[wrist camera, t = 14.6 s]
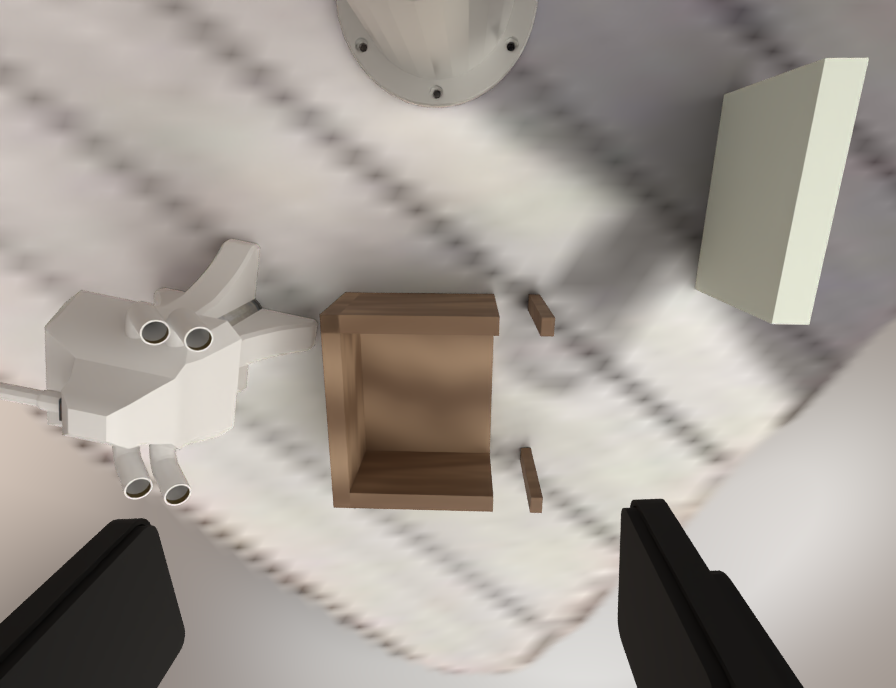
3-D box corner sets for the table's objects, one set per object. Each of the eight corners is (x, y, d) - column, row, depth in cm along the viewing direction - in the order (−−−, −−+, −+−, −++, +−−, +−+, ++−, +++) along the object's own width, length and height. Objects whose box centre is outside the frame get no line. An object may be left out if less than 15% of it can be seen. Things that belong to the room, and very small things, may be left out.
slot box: (345, 292, 38) (319, 314, 32) (539, 294, 38) (554, 317, 31) (354, 457, 42) (333, 507, 36) (529, 460, 42) (541, 512, 35)
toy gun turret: (148, 220, 37) (-124, 249, 20) (326, 259, 38) (208, 319, 20) (144, 369, 41) (-92, 501, 24) (306, 403, 41) (191, 558, 24)
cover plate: (723, 94, 33) (825, 58, 24) (754, 94, 33) (868, 57, 24) (694, 288, 37) (771, 323, 28) (722, 289, 37) (808, 324, 28)
